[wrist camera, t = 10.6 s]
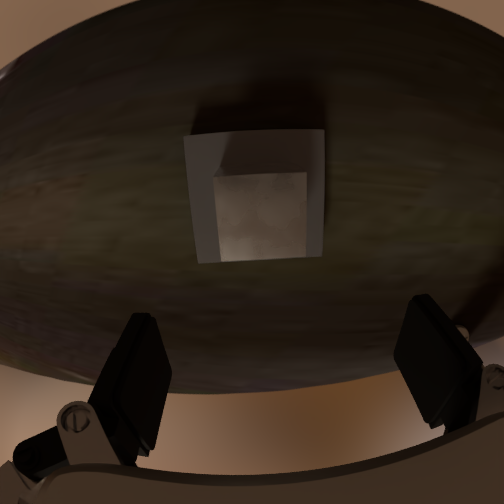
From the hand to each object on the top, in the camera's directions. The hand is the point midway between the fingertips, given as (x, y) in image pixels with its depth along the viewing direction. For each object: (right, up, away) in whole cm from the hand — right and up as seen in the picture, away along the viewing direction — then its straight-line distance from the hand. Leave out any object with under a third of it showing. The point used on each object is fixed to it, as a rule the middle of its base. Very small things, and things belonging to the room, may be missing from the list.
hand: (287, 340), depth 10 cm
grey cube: (-1, +8, +17) cm, 19 cm away
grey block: (-1, +9, +20) cm, 22 cm away
